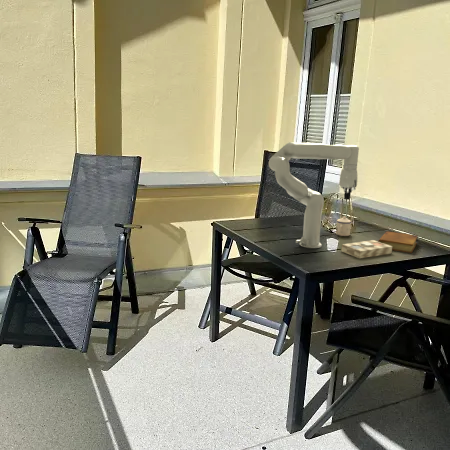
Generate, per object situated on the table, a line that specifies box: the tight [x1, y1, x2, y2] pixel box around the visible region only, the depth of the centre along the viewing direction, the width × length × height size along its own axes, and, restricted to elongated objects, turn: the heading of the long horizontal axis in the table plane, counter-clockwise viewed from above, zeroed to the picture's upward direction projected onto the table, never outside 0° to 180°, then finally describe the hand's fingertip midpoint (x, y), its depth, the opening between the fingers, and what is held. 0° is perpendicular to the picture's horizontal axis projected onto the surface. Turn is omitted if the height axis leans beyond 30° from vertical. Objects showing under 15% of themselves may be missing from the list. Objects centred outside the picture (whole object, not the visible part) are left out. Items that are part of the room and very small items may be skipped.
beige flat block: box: [340, 239, 393, 259], centre depth 246 cm, size 24×14×4 cm, turn 118°
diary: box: [378, 230, 419, 254], centre depth 262 cm, size 23×19×6 cm
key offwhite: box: [361, 242, 374, 247], centre depth 246 cm, size 5×5×2 cm
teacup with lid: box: [335, 216, 352, 237], centre depth 282 cm, size 12×9×12 cm
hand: (347, 199), depth 255 cm, fingers closed
